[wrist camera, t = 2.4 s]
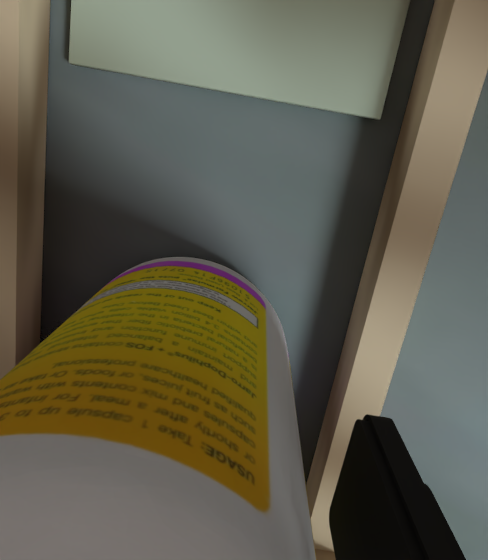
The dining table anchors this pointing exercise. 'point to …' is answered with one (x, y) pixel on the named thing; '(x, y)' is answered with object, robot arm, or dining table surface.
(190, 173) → the dining table surface
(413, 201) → the frame
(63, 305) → the dining table surface
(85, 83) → the dining table surface
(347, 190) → the dining table surface
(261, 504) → the supplement bottle
